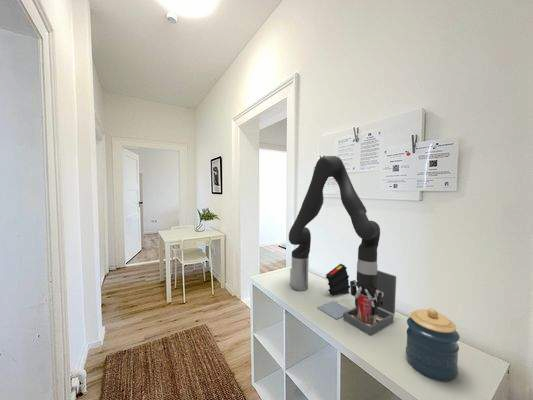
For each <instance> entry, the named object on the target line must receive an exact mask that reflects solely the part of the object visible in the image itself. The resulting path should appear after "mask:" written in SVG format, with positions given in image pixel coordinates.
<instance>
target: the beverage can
mask: <svg viewBox="0 0 533 400" xmlns="http://www.w3.org/2000/svg"><path fill="white" fill-rule="evenodd" d="M371 297H372V298H373V296H371ZM371 306H372V304H371V301H369V299H368V296H365V295H363V294H361V293H359V295H358V305H357V315H356V319H358V320H360V321H361V322H363V323H365V324H369V325H373V324H375V315H374V316H372V315H371Z"/></svg>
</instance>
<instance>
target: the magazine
mask: <svg viewBox="0 0 533 400" xmlns="http://www.w3.org/2000/svg"><path fill="white" fill-rule="evenodd" d="M347 269H348V268H347V266H345V264H343V263H339V264H337V266H335V267H334V268H332V269H331V270H330V271H329V272H328V273H326V274H325V279H326V280H327V285H328V287H329V289H328V290H327V292H328V293H329V295H330V296H332V297H336V296H340V295H344V294H349V292H350V289H351V288H350V281H349V278H350V275H349V274H348V271H347Z"/></svg>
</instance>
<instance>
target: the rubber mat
mask: <svg viewBox="0 0 533 400" xmlns="http://www.w3.org/2000/svg"><path fill="white" fill-rule="evenodd" d="M316 308H317V309H318V310H320V311H321V312H323V313H325V315H328V316H330V317H331V318H333V319H334V320H336V321H337V320H339V319H342V318H343V313H344V312H346V311H349V310H351V309H350V308H348V307H346V306H344V305H342V304H341V303H339V302H336V301H335V300H332V301H329V302H326V303H324V304H321V305H318V306H316Z"/></svg>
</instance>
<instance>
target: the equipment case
mask: <svg viewBox="0 0 533 400" xmlns="http://www.w3.org/2000/svg"><path fill="white" fill-rule="evenodd" d="M377 270H378V269H377ZM376 287H377V290H379V291H381V292H382V291H383V292H384V293H385V294H384V301H383V306H381V307H379V308H378V307H377V314H376V315H375V316H378V317H379V318H378V317H377V318H375V322H374V324H373V325H369V324H365V323H363V322H361V321H360V320H358V319H357V307H356V306H354V307H353V308H352V309H350V310H349V311H346V312H344V313H343V317H342V318H343V319H342V320H343V321H344V322H346V323H348V324H349V325H351V326H353V327H355V328H356V329H358V330H360V331H361V332H363V333H364V334H367V335H368V336H370V337H371V336H373V335H374V334H376V333H377V332H380V331H382V330H383V329H385V328H386V327H388V326H389V325H392V324H393V323H394V317H395V314H396V294H397V292H396V291H397V276H396V275H394V274H390V273H387V272H384V271H381V270H378V272H377V285H376ZM375 295H376V297H378V296H377V293H375Z"/></svg>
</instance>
